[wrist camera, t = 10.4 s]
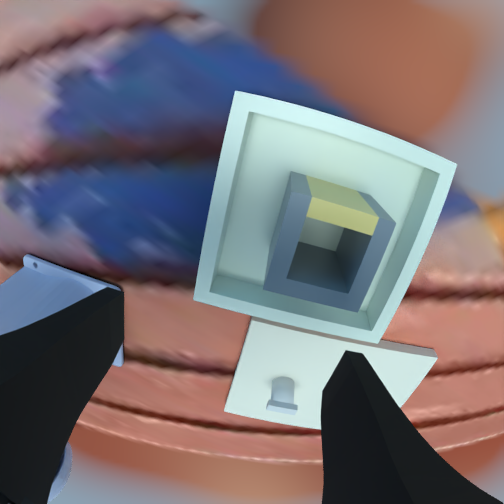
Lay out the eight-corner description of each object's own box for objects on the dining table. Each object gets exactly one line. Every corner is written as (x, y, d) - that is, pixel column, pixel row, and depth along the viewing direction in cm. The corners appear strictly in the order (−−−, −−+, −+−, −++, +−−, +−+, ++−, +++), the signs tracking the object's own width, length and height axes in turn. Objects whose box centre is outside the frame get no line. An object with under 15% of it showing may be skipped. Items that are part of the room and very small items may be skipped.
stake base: (225, 402, 24) (218, 434, 21) (253, 310, 20) (246, 346, 17) (375, 426, 24) (380, 456, 21) (433, 349, 20) (448, 381, 17)
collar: (343, 267, 18) (357, 312, 14) (269, 247, 18) (262, 289, 14) (370, 195, 16) (396, 223, 12) (290, 171, 16) (291, 191, 12)
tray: (204, 277, 20) (193, 299, 17) (243, 94, 15) (235, 90, 13) (369, 318, 20) (377, 343, 17) (435, 156, 15) (457, 164, 13)
